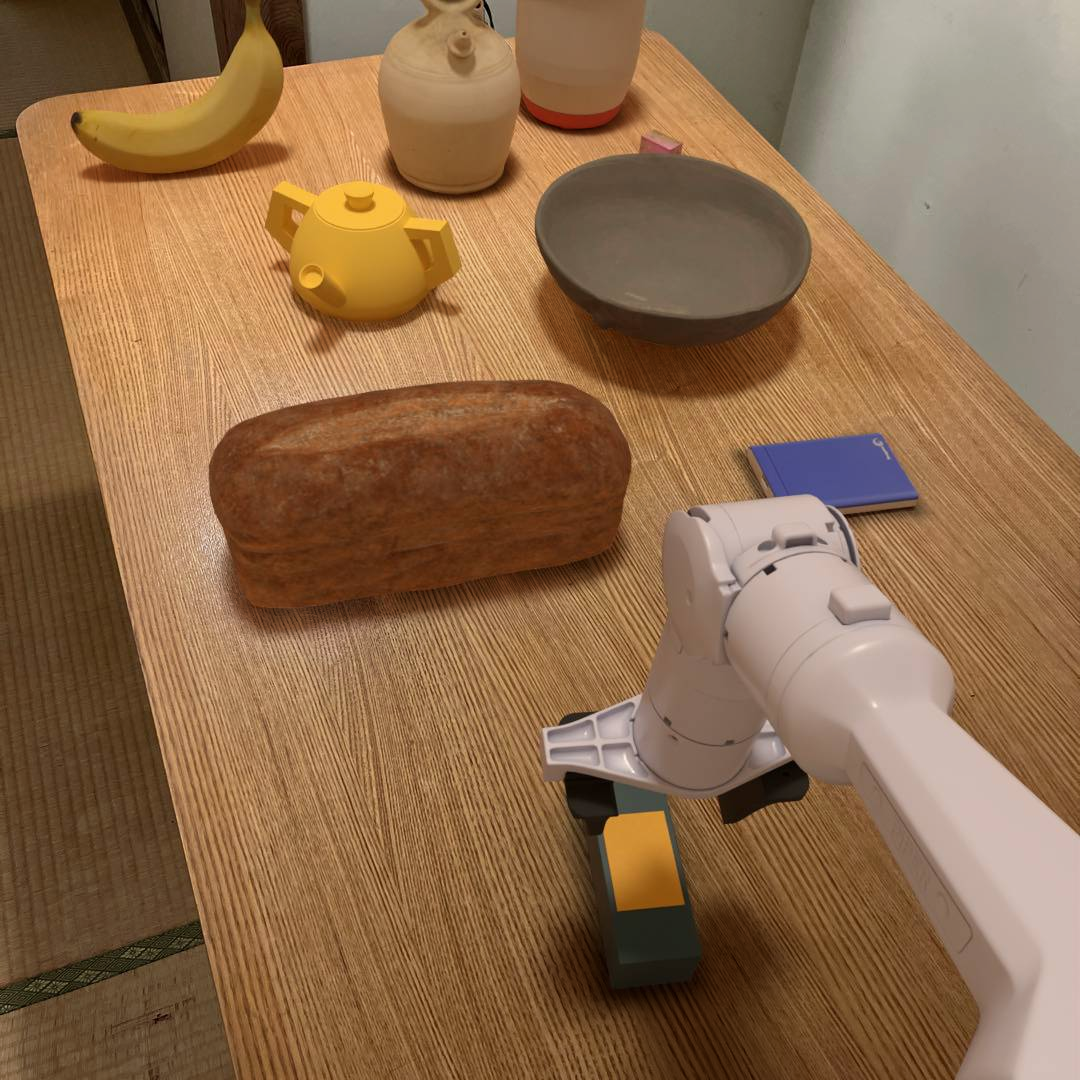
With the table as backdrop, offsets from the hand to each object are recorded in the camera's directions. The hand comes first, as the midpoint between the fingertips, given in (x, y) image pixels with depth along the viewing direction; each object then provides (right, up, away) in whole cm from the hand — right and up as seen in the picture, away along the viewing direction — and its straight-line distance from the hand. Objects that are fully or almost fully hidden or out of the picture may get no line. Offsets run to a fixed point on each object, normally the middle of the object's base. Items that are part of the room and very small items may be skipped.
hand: (658, 812), depth 60 cm
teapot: (-25, +39, +47) cm, 65 cm away
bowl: (+5, +38, +49) cm, 62 cm away
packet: (-1, -7, +8) cm, 10 cm away
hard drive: (+18, +20, +34) cm, 43 cm away
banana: (-46, +57, +61) cm, 95 cm away
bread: (-16, +15, +26) cm, 34 cm away
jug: (-17, +58, +64) cm, 88 cm away
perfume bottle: (+9, +56, +65) cm, 87 cm away
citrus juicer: (-3, +70, +77) cm, 104 cm away
